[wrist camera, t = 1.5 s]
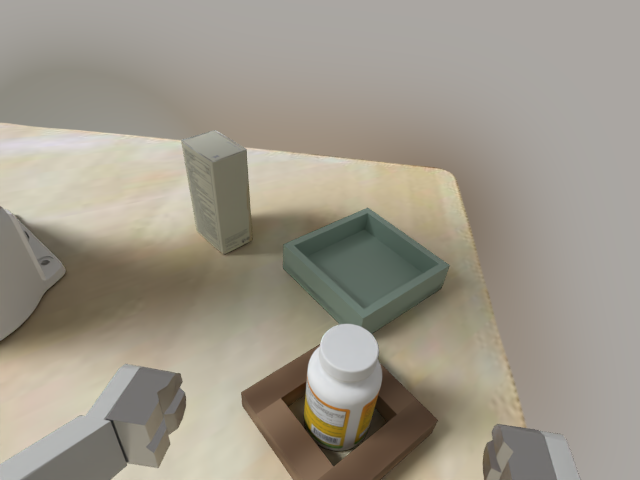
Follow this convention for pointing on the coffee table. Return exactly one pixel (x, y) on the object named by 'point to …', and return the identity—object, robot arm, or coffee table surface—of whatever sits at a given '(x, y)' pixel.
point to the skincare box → (219, 189)
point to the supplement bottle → (342, 387)
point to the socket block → (300, 449)
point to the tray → (364, 269)
